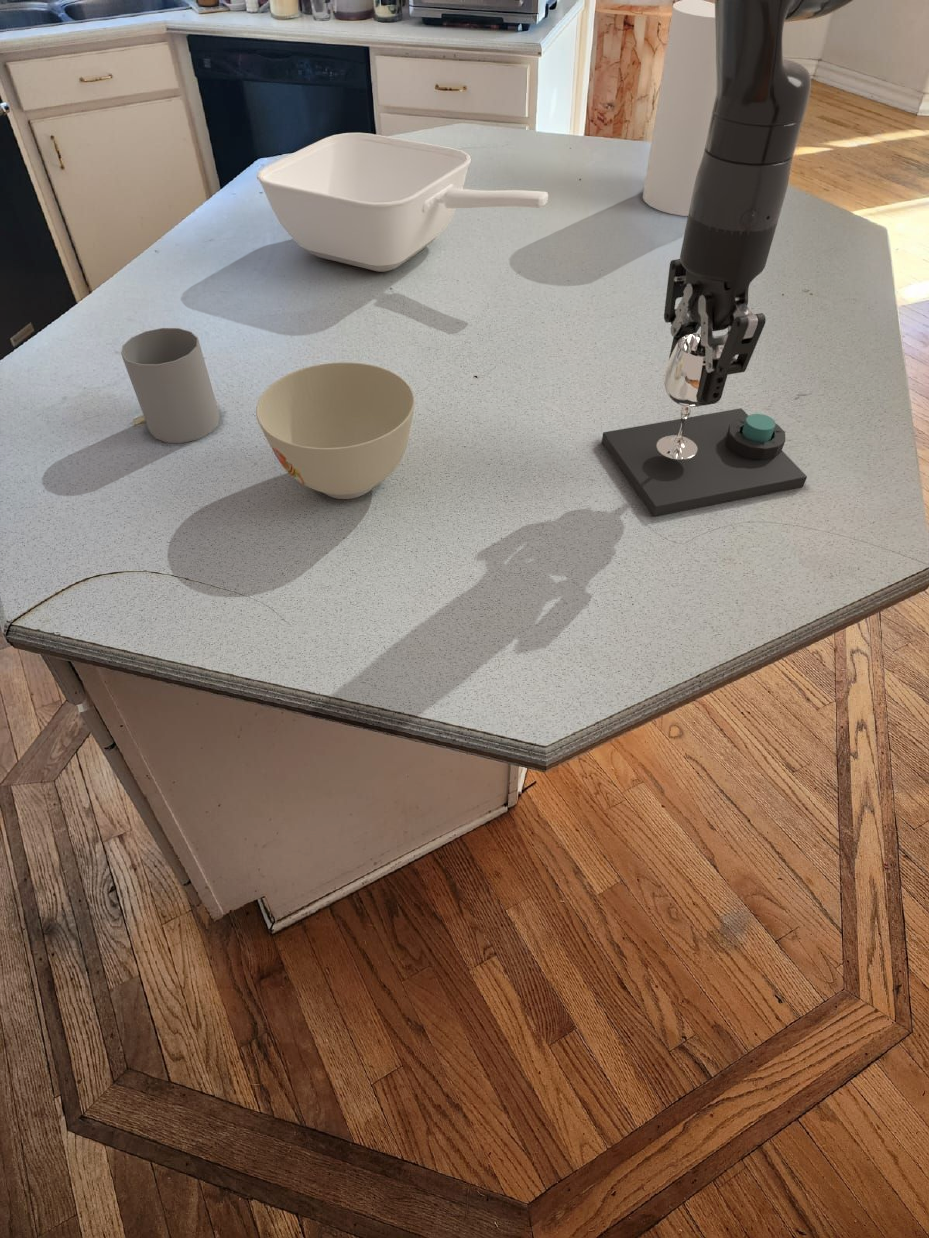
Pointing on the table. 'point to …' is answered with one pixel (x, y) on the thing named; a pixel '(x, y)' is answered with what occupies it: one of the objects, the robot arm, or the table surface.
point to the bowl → (338, 425)
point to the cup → (171, 384)
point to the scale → (702, 463)
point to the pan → (375, 197)
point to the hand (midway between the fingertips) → (692, 385)
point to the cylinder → (682, 107)
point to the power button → (758, 428)
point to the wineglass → (684, 391)
